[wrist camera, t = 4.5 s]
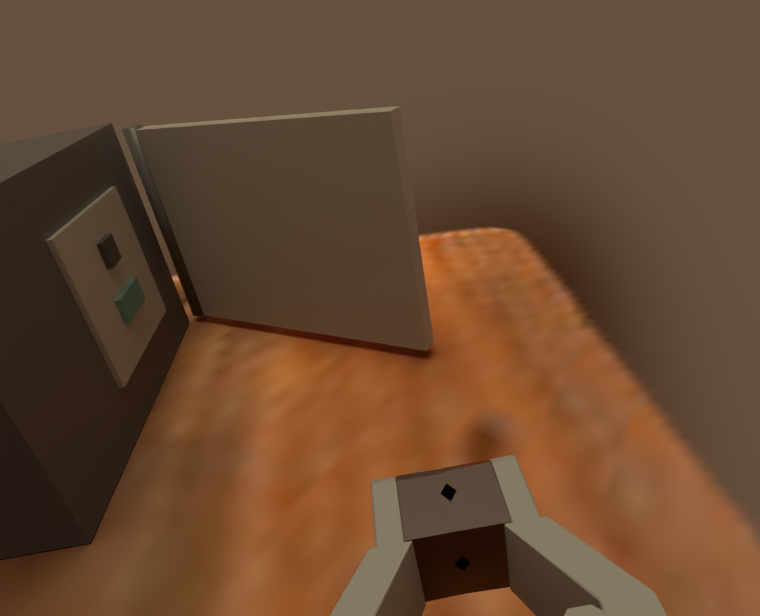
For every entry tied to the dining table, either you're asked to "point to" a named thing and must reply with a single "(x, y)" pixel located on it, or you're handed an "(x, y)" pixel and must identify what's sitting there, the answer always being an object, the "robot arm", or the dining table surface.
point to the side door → (292, 221)
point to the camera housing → (75, 333)
